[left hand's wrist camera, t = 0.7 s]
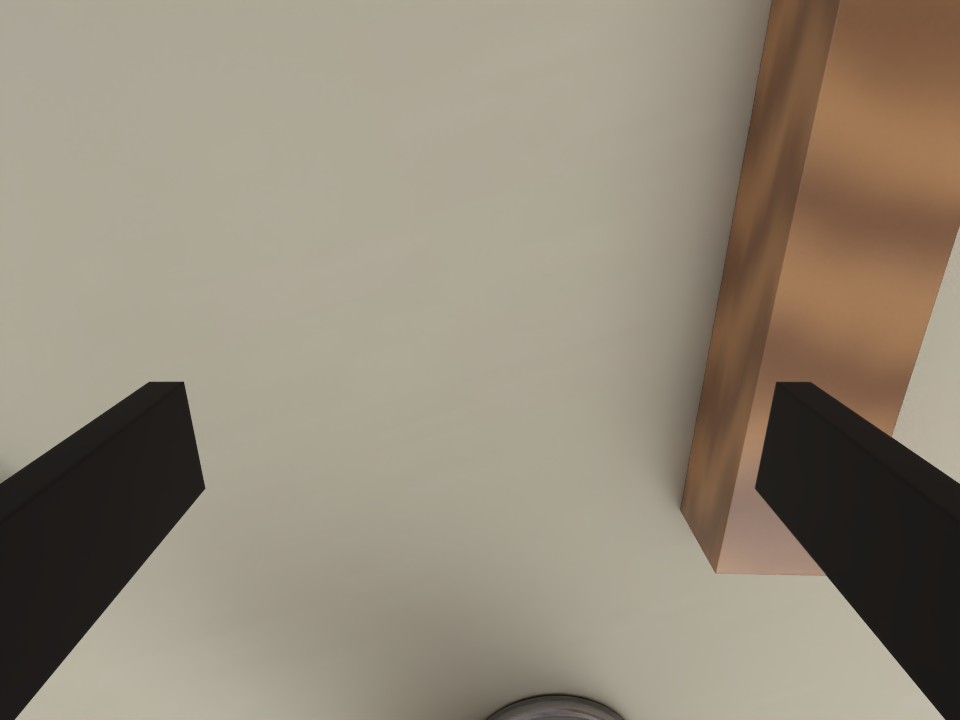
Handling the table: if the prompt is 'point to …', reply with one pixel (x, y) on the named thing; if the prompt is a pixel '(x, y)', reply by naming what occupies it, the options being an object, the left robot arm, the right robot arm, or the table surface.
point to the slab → (827, 246)
